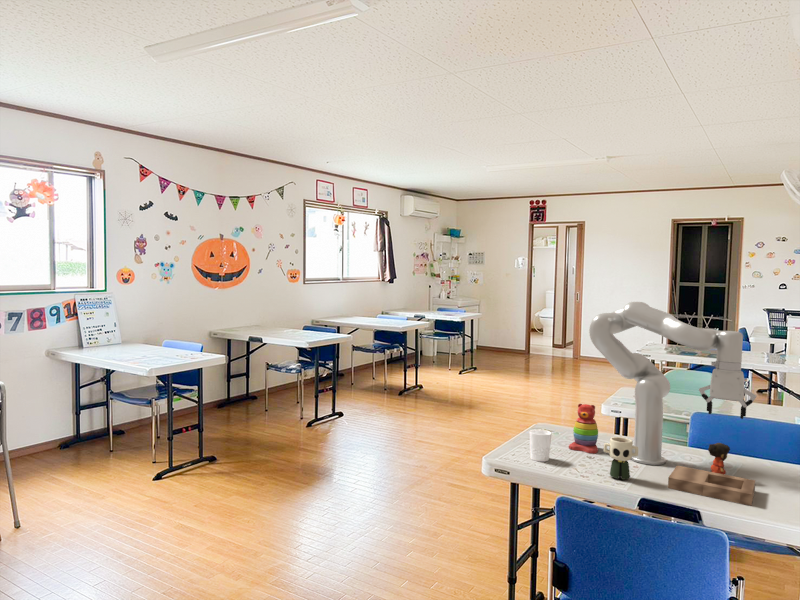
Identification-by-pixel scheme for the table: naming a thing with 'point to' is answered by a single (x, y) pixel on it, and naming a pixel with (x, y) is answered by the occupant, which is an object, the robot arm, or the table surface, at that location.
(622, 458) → the character mug
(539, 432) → the white cup
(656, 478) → the table surface
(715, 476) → the jig
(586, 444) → the stacking bear
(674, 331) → the robot arm
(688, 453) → the table surface
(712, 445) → the figurine
